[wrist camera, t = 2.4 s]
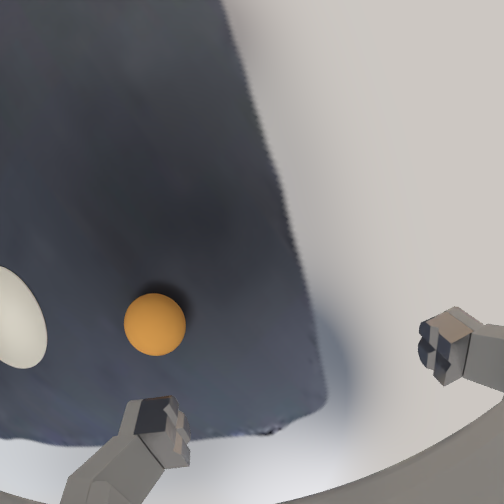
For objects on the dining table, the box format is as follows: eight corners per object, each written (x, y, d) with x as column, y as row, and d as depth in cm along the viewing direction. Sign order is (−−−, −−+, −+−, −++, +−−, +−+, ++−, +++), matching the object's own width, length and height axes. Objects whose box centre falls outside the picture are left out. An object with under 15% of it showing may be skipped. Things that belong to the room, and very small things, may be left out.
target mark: (29, 385, 28) (29, 386, 28) (-39, 319, 25) (-39, 319, 25) (63, 318, 27) (63, 318, 27) (-15, 241, 24) (-16, 241, 24)
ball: (166, 347, 29) (159, 378, 24) (121, 315, 28) (105, 341, 22) (199, 308, 29) (197, 335, 23) (152, 273, 27) (139, 293, 22)
